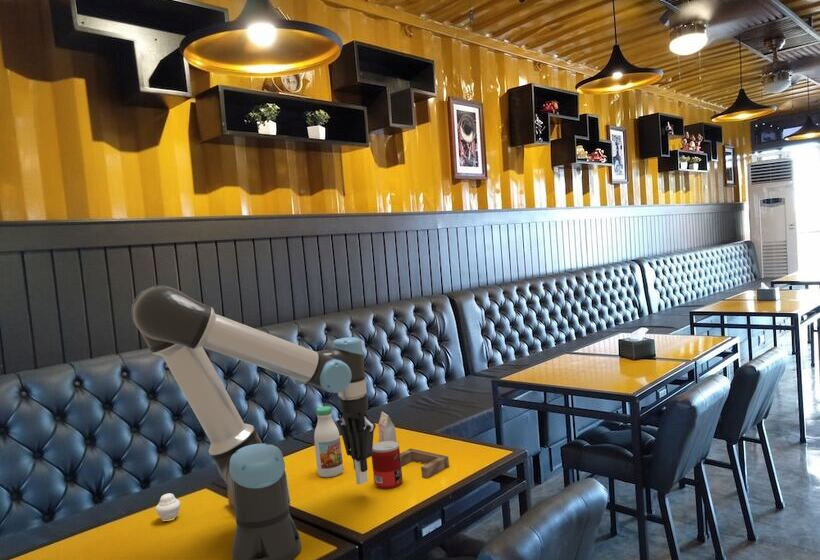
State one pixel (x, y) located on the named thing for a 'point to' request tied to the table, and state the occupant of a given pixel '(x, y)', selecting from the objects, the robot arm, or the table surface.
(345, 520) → the table surface
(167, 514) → the muffin
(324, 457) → the milk bottle
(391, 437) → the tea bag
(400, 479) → the canned food
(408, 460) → the wooden u-shaped frame
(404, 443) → the table surface
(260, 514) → the robot arm
